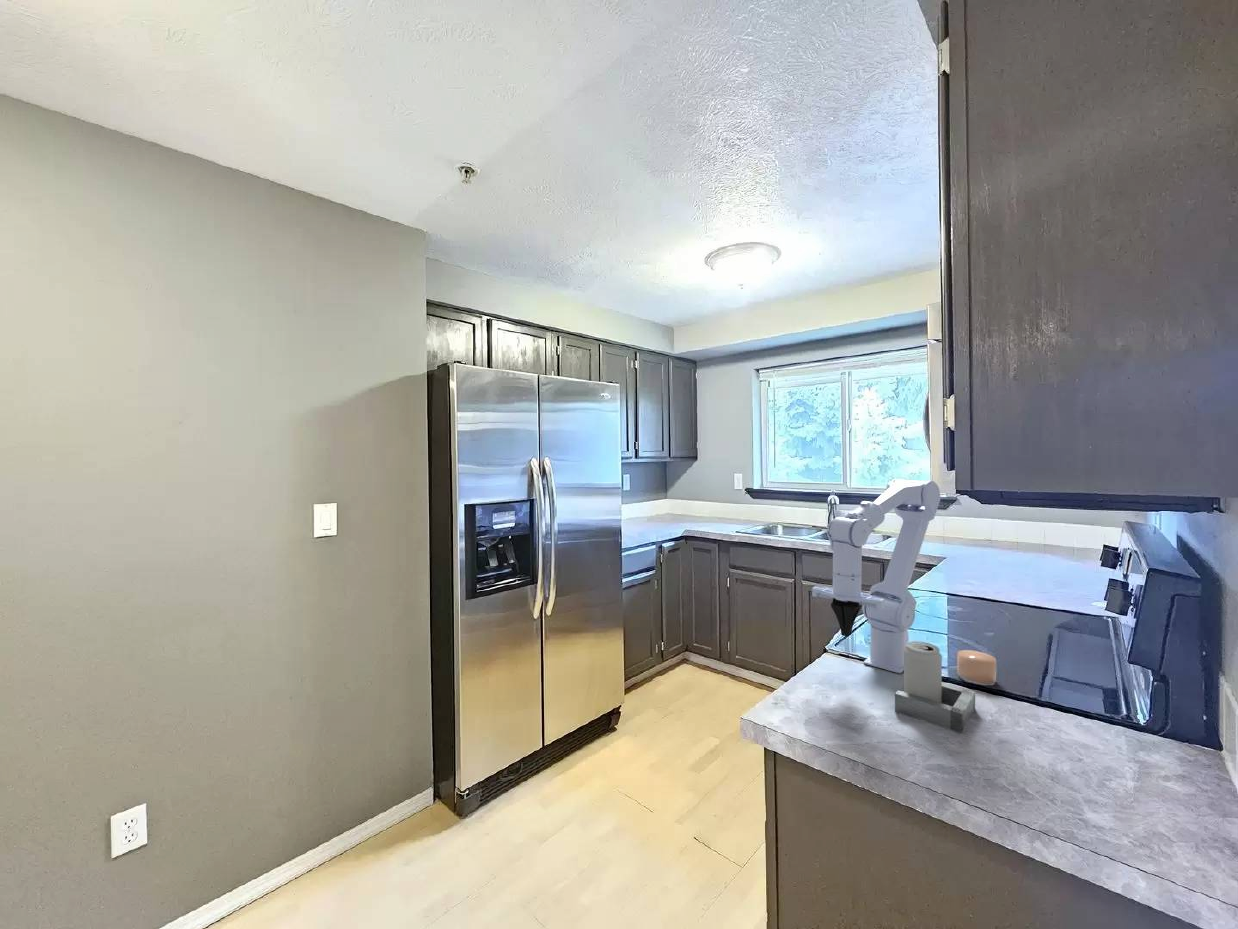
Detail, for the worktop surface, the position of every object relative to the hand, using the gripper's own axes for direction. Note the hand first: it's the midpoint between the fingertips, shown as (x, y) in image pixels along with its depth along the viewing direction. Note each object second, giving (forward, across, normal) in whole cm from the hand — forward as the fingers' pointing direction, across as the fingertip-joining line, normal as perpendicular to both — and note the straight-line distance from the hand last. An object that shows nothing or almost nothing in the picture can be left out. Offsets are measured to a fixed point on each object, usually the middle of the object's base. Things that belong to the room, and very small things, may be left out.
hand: (846, 634), depth 113 cm
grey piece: (+10, +17, -2) cm, 20 cm away
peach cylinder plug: (+10, +21, +19) cm, 30 cm away
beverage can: (+10, +15, -2) cm, 18 cm away
